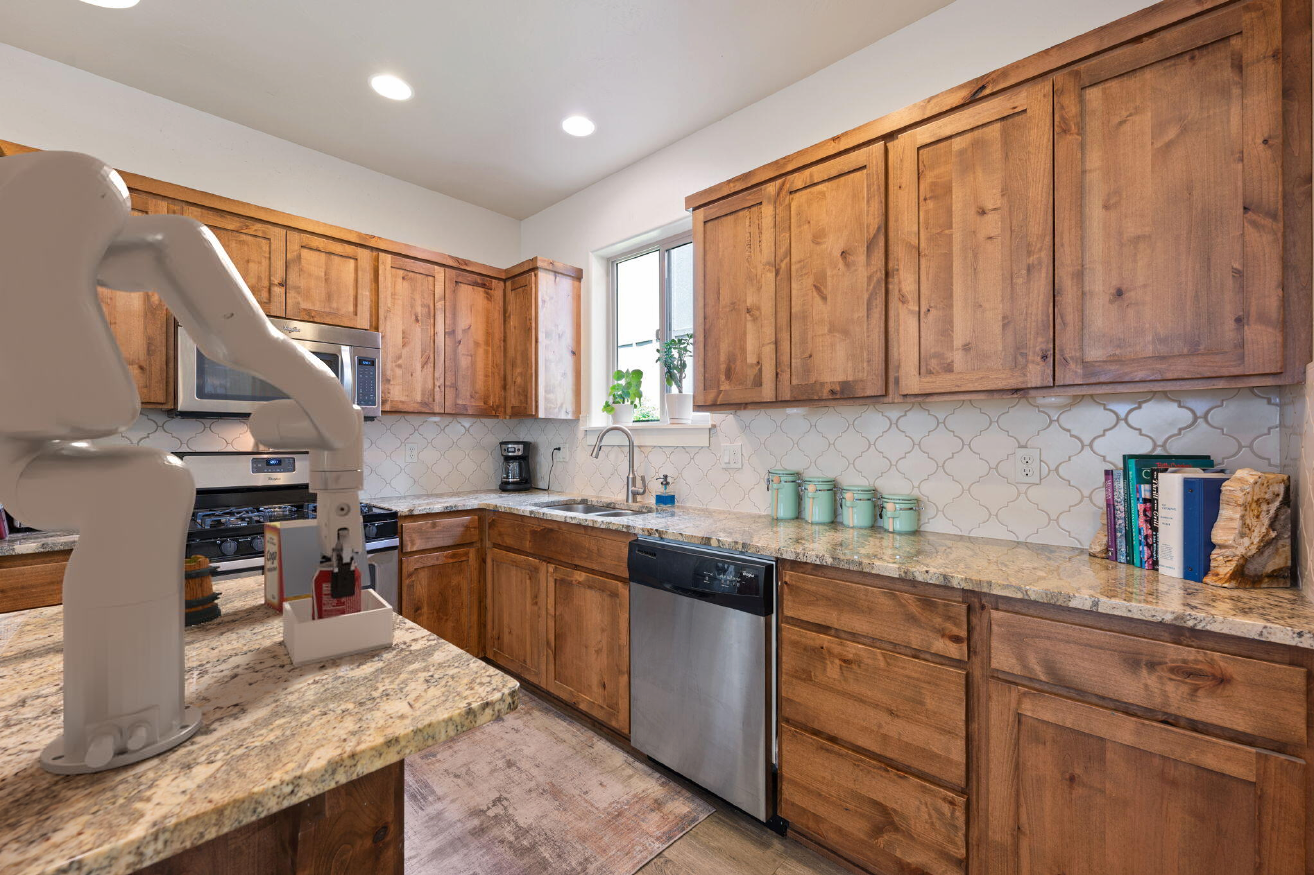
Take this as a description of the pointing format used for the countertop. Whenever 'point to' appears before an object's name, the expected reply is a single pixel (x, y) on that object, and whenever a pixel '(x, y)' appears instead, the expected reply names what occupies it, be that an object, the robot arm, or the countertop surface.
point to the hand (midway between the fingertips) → (336, 590)
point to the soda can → (322, 595)
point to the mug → (200, 591)
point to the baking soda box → (275, 569)
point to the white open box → (336, 630)
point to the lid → (308, 556)
